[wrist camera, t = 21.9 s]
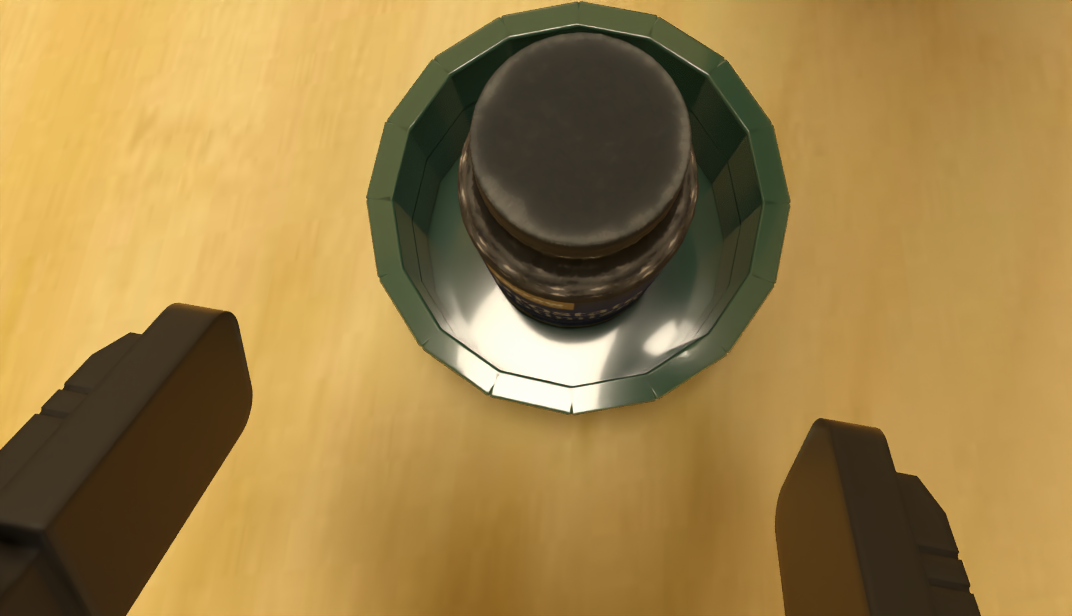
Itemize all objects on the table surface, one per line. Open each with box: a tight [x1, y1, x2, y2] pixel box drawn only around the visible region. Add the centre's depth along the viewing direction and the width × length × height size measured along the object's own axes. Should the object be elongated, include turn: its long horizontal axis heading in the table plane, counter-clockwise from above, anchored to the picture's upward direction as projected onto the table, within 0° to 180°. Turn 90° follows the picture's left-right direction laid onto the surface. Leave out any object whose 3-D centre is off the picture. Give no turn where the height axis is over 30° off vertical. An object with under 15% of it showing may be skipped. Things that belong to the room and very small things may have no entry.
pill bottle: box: [457, 32, 699, 328], centre depth 20 cm, size 6×6×11 cm
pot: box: [366, 1, 790, 415], centre depth 24 cm, size 12×12×6 cm
